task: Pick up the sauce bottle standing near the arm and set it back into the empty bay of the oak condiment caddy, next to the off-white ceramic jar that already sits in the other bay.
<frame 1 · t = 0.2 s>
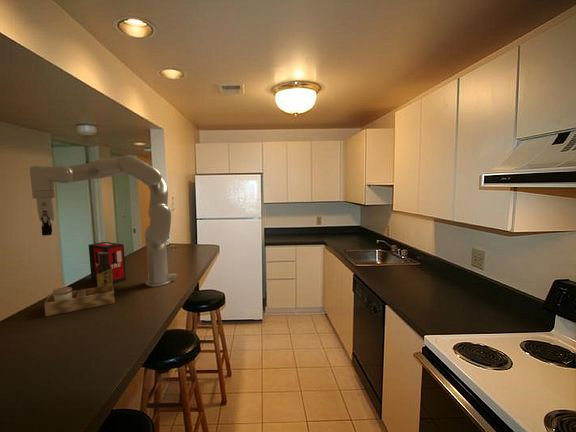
hand: (47, 233, 130), 31 cm above the counter, fingers open, 9 cm apart
jar: (64, 308, 124), point 1 cm above the counter, touching caddy
sauce bottle: (105, 293, 143), on the counter
caddy: (82, 306, 127), on the counter
cleaning product box: (108, 280, 162), on the counter
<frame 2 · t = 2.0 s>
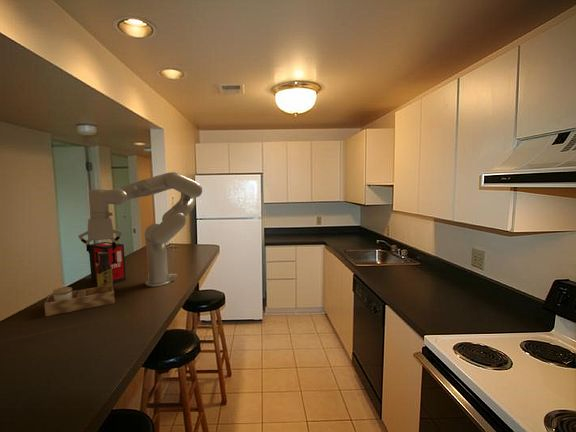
hand: (101, 251, 140), 21 cm above the counter, fingers open, 9 cm apart
nothing on the counter moved.
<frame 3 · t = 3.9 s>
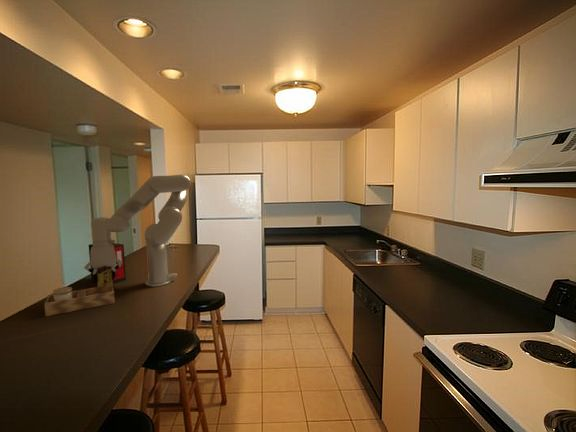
hand: (105, 280, 142), 7 cm above the counter, fingers closed on sauce bottle, 6 cm apart
sauce bottle: (106, 293, 143), on the counter, touching gripper
everything else where it was.
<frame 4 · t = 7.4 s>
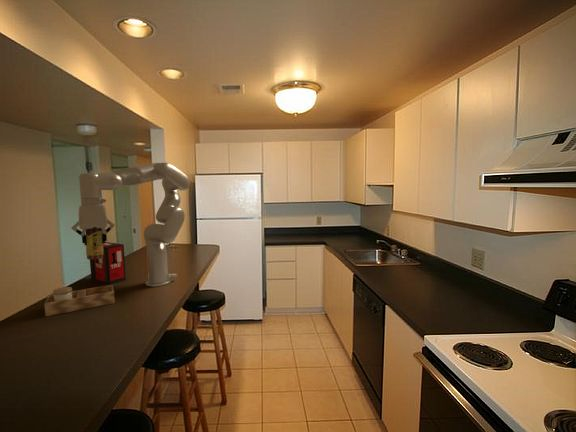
hand: (95, 243, 128), 27 cm above the counter, fingers closed on sauce bottle, 6 cm apart
sauce bottle: (95, 258, 129), point 20 cm above the counter, touching gripper
everything else where it was.
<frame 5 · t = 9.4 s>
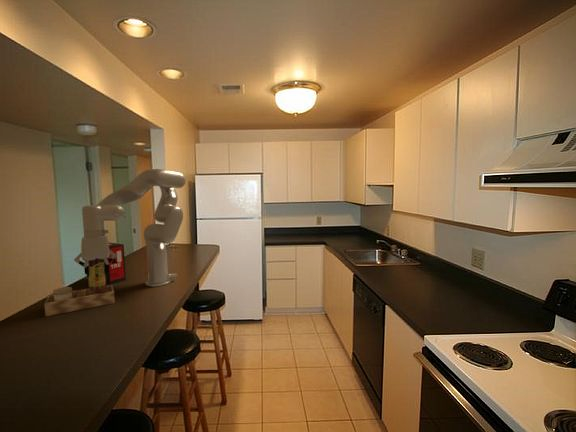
hand: (97, 274, 129), 13 cm above the counter, fingers closed on sauce bottle, 6 cm apart
sauce bottle: (97, 289, 130), point 7 cm above the counter, touching gripper
everything else where it was.
when the fingers open (9 cm above the counter, at t = 11.0 s): sauce bottle drops 1 cm, resting on caddy.
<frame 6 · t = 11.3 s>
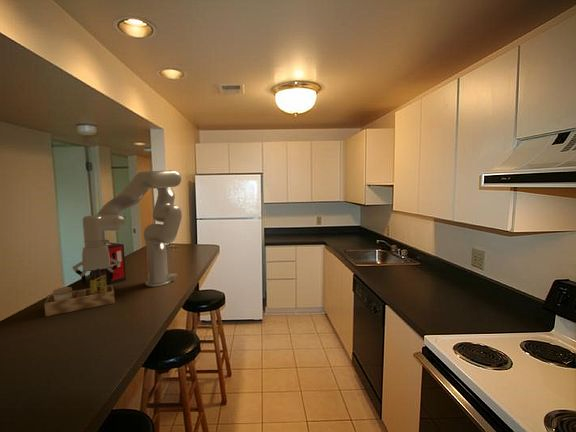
hand: (98, 282, 130), 10 cm above the counter, fingers open, 9 cm apart
sauce bottle: (99, 301, 131), point 1 cm above the counter, touching caddy
everything else where it was.
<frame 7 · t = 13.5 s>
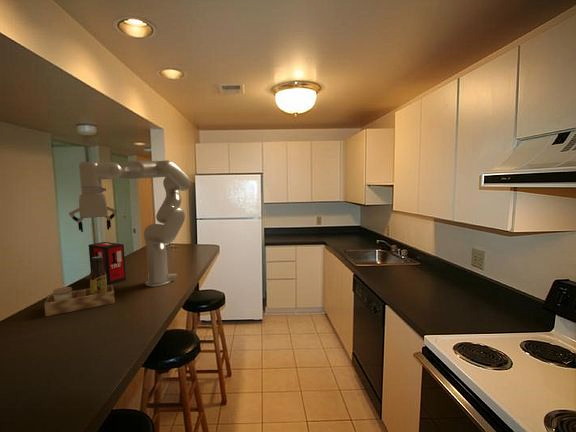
hand: (95, 230, 129), 32 cm above the counter, fingers open, 9 cm apart
nothing on the counter moved.
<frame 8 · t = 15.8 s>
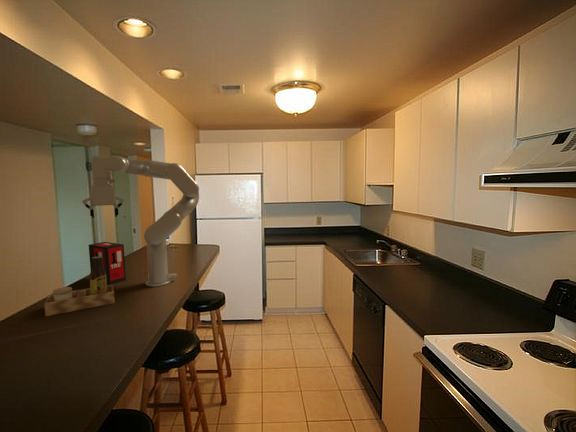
hand: (104, 217, 146), 36 cm above the counter, fingers open, 9 cm apart
nothing on the counter moved.
at the end: sauce bottle inside the target area on the caddy (0.1 cm from its centre), point 0.6 cm above the caddy's base; sauce bottle tilted 1°; the gripper is holding nothing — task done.
